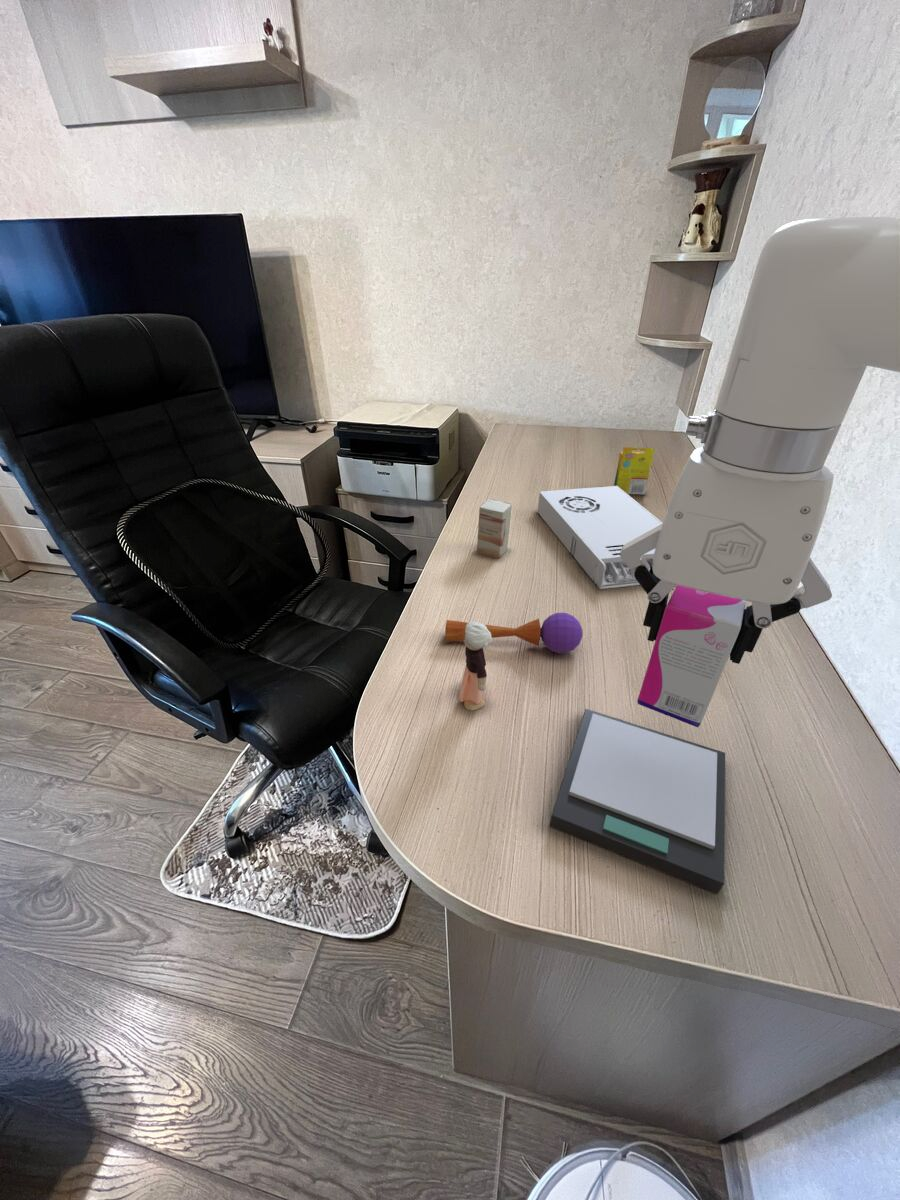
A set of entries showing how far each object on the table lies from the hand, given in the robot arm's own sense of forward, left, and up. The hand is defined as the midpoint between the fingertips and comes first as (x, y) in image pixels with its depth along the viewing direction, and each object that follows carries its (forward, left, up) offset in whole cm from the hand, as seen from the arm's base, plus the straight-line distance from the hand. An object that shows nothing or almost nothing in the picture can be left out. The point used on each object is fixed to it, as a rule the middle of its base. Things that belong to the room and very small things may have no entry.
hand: (693, 641), depth 45 cm
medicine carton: (+34, -42, -20) cm, 58 cm away
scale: (0, +2, -20) cm, 20 cm away
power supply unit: (+14, -56, -20) cm, 62 cm away
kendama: (+21, -17, -20) cm, 34 cm away
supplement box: (0, 0, -7) cm, 7 cm away
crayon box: (+14, -85, -20) cm, 89 cm away
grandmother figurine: (+22, -3, -20) cm, 30 cm away
